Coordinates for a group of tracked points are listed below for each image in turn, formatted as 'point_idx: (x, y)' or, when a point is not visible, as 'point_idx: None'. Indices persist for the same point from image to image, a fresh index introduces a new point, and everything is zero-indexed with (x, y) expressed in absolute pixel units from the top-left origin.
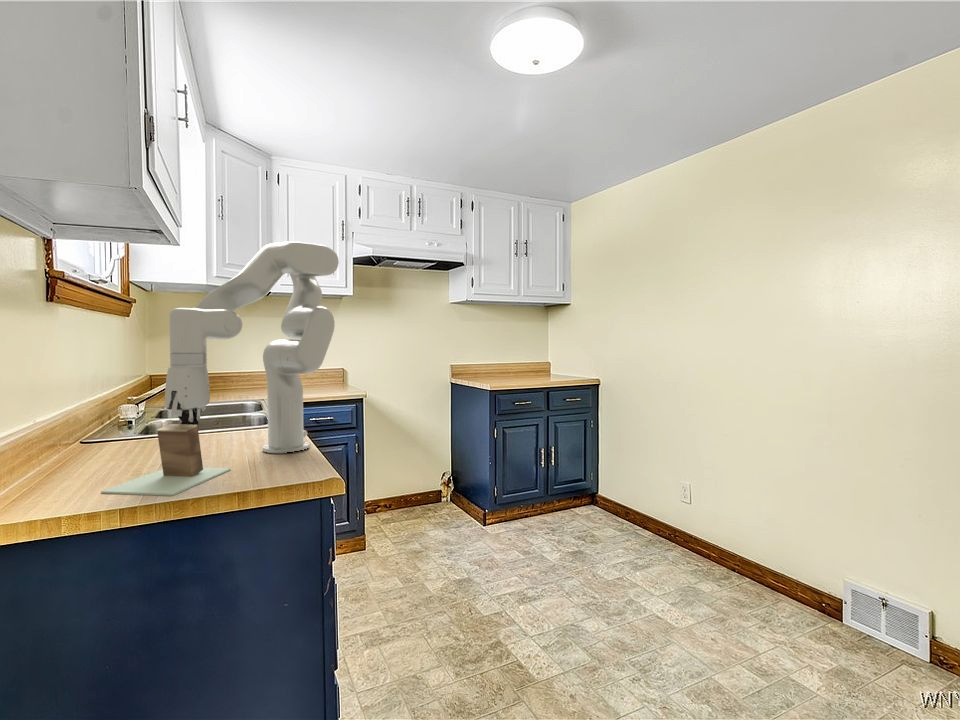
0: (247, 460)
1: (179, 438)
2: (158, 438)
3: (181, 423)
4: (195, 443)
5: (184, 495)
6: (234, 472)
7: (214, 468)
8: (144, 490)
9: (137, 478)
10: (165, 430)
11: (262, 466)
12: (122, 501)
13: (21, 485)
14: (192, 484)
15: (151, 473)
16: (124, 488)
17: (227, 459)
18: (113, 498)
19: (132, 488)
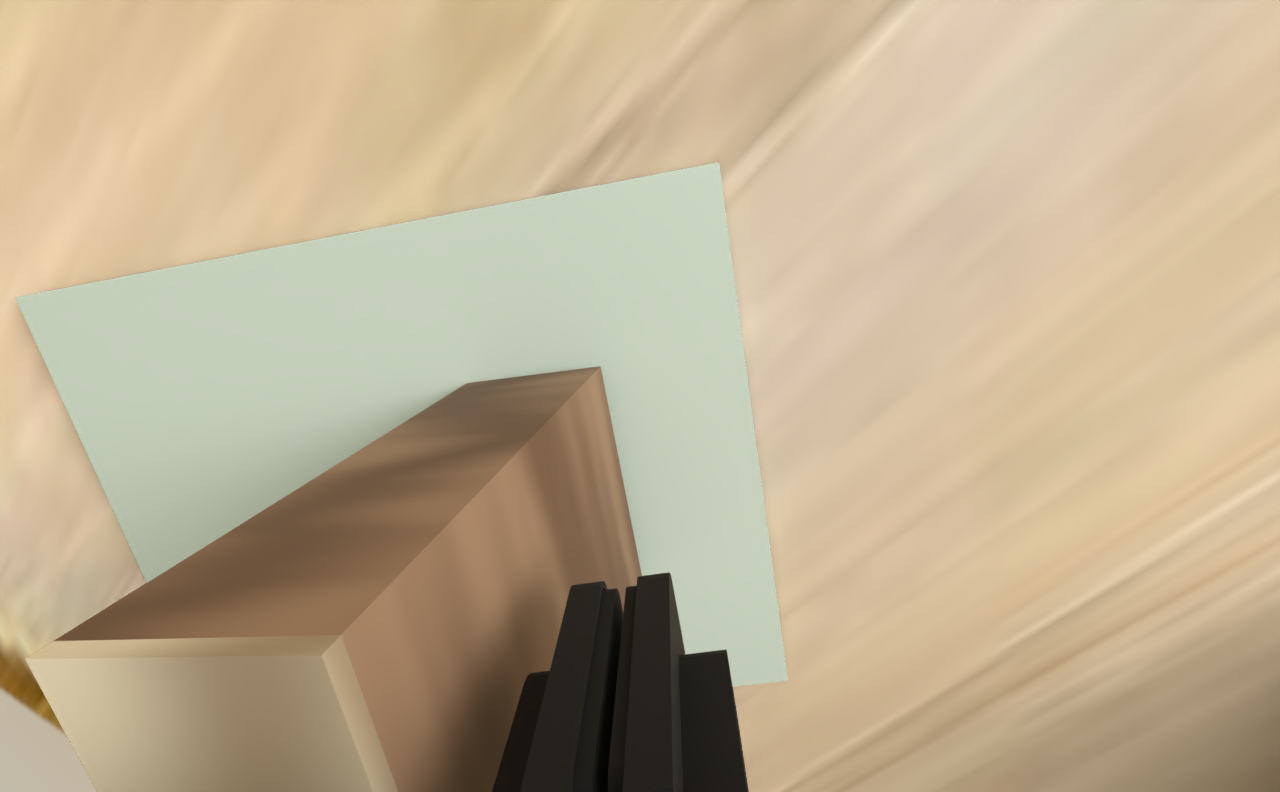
0: (1114, 578)
1: None
2: (187, 563)
3: (527, 770)
4: None
5: None
6: (757, 708)
7: (758, 579)
8: (177, 556)
9: (333, 247)
10: (109, 788)
11: (943, 775)
12: (46, 552)
13: None
14: None
15: (484, 218)
16: (136, 396)
17: (1139, 397)
18: (43, 455)
19: (163, 448)
